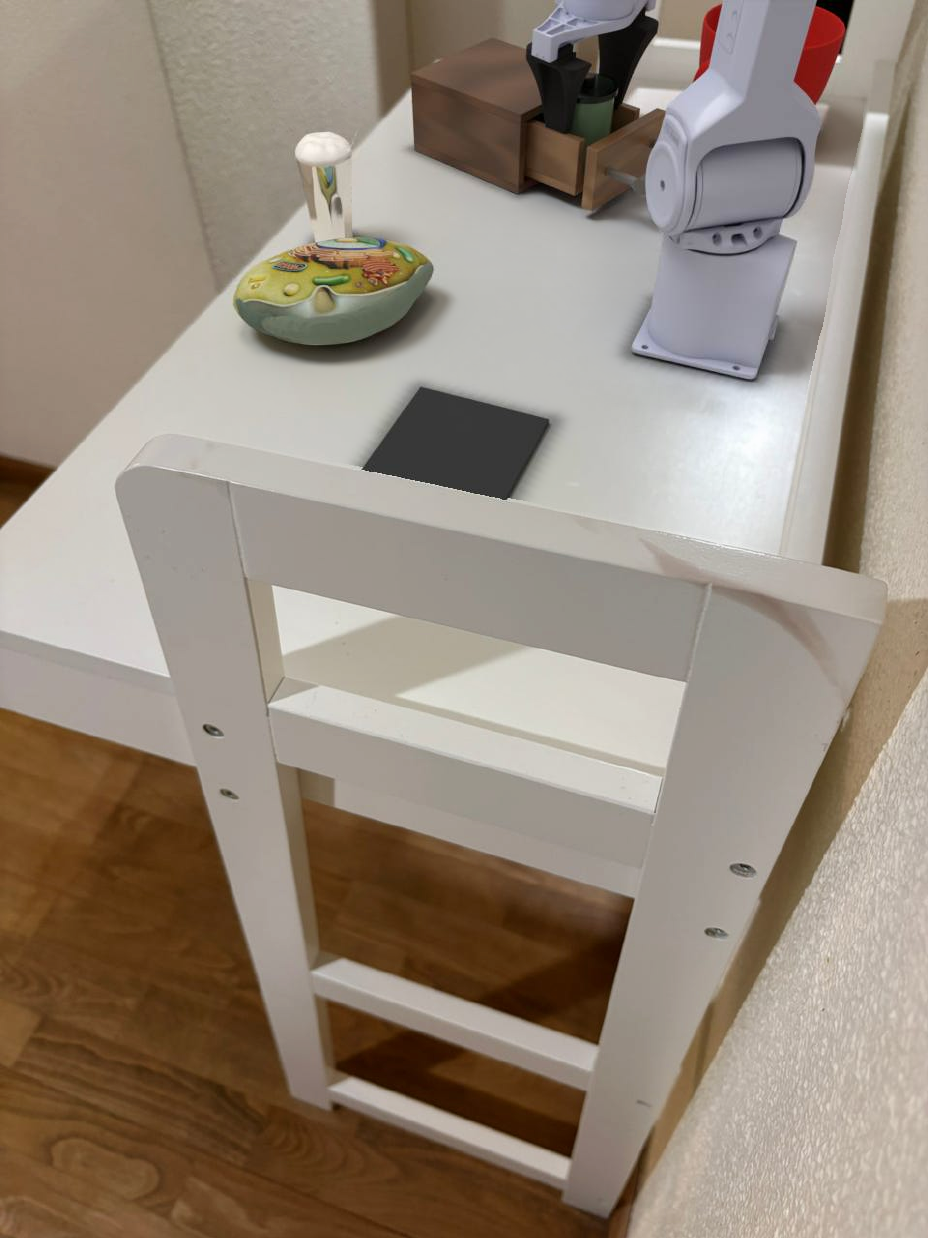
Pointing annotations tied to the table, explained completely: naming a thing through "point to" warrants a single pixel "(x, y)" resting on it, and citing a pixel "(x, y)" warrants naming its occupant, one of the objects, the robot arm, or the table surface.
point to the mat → (458, 444)
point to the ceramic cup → (814, 57)
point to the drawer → (594, 156)
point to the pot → (594, 110)
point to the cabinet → (478, 112)
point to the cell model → (332, 290)
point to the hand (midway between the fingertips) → (584, 119)
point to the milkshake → (327, 183)
